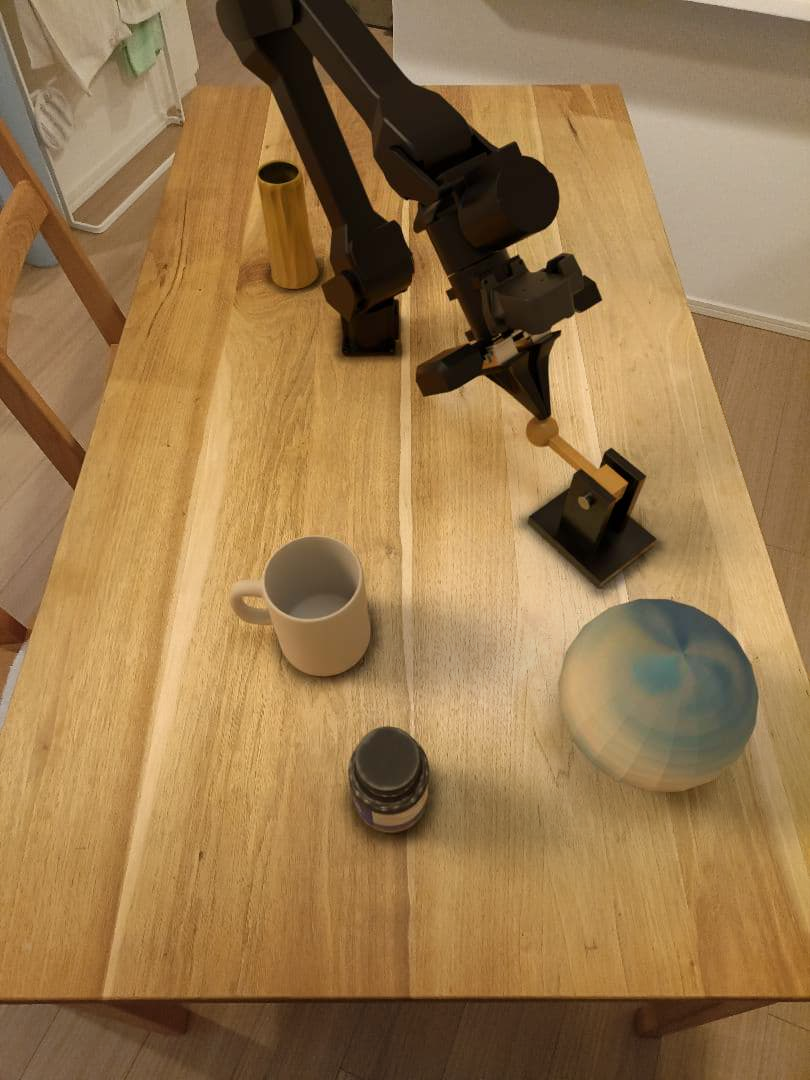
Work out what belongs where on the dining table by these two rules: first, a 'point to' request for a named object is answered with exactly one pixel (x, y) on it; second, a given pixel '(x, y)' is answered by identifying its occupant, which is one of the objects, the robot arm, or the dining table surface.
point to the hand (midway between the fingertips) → (545, 418)
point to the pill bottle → (389, 779)
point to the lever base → (596, 523)
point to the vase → (287, 224)
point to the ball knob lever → (573, 455)
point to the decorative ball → (658, 695)
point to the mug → (311, 604)
